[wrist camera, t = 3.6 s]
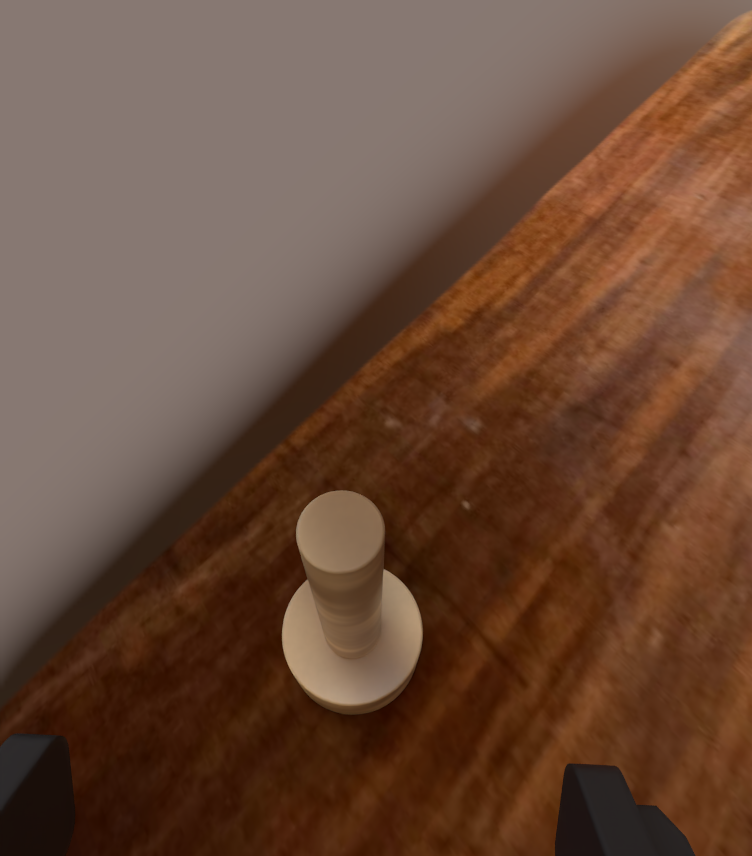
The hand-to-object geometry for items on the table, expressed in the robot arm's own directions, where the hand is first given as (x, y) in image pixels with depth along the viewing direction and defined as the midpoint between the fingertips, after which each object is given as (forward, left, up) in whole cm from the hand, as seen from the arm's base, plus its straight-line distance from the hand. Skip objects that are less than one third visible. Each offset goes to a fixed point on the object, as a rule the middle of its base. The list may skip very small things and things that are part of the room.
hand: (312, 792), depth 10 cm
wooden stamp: (+2, +5, -14) cm, 14 cm away
